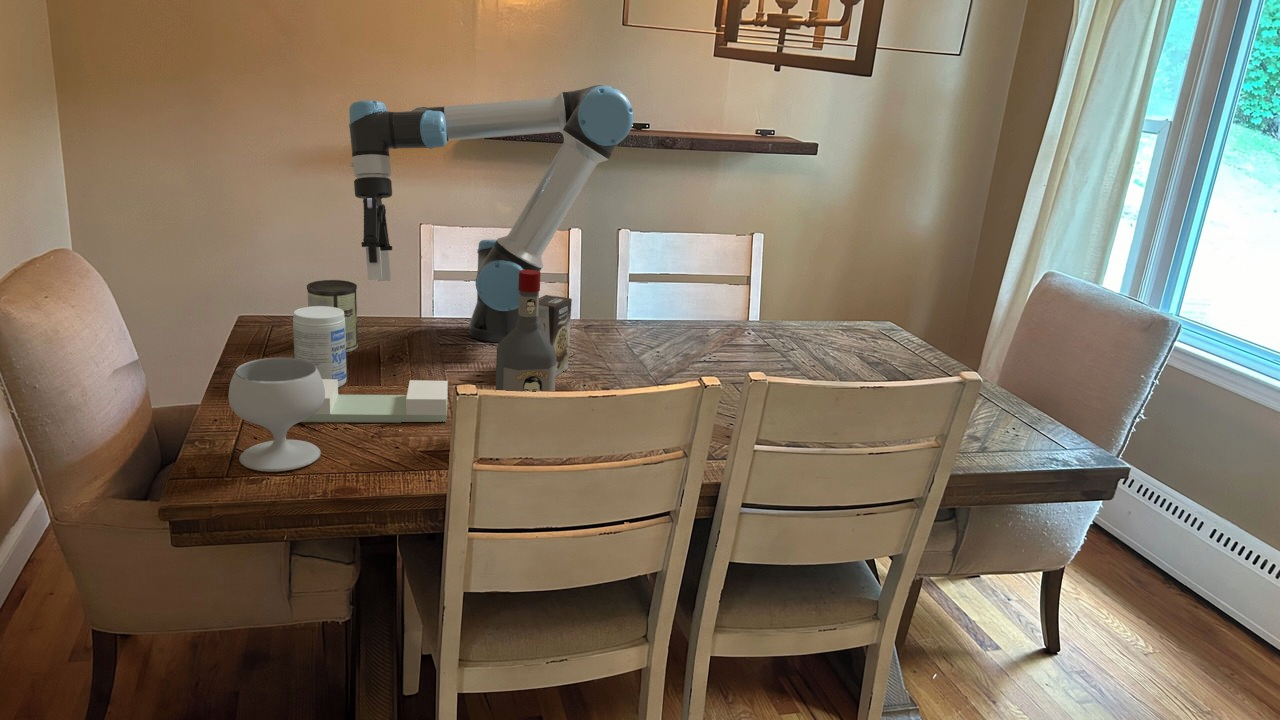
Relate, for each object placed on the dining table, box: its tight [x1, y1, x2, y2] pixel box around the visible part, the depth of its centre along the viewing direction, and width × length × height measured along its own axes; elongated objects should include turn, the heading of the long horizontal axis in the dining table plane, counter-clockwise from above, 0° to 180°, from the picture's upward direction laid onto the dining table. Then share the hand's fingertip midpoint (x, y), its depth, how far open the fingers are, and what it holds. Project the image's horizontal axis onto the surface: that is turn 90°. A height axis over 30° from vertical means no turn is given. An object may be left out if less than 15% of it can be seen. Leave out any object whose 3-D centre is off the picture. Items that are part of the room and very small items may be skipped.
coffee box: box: [538, 294, 573, 377], centre depth 191 cm, size 9×6×16 cm
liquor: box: [495, 270, 557, 392], centre depth 154 cm, size 9×9×30 cm
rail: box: [300, 379, 449, 423], centre depth 163 cm, size 27×10×4 cm, turn 100°
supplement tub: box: [292, 306, 348, 388], centre depth 174 cm, size 10×10×15 cm
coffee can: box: [306, 279, 359, 353], centre depth 196 cm, size 10×10×14 cm
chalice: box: [227, 357, 325, 473], centre depth 141 cm, size 14×14×15 cm
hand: (380, 280), depth 188 cm, fingers open, 13 cm apart
